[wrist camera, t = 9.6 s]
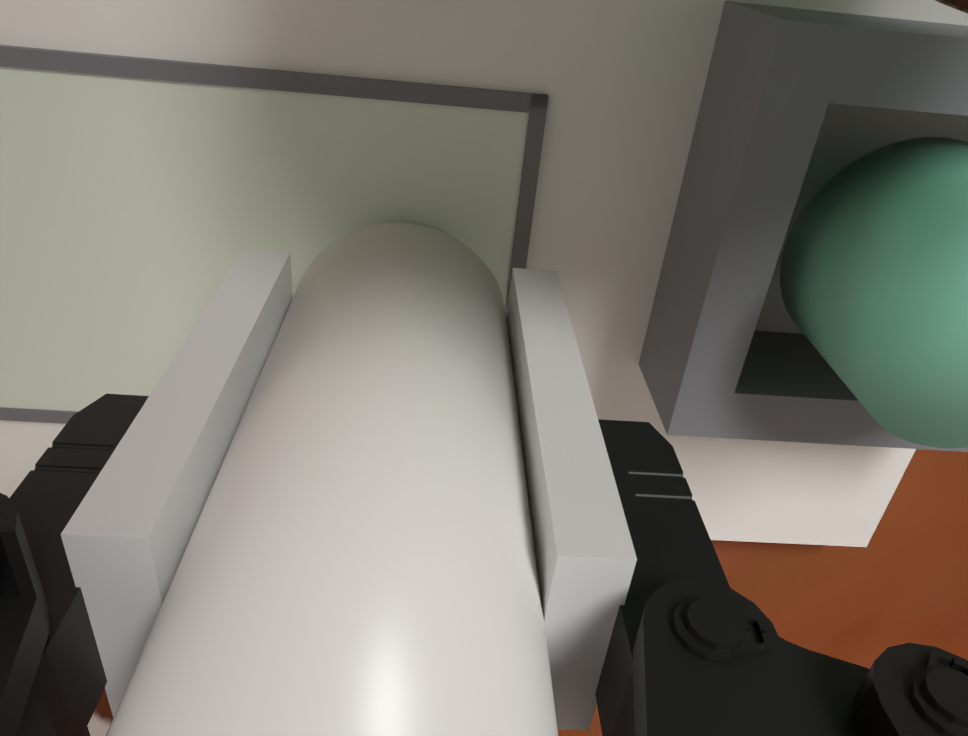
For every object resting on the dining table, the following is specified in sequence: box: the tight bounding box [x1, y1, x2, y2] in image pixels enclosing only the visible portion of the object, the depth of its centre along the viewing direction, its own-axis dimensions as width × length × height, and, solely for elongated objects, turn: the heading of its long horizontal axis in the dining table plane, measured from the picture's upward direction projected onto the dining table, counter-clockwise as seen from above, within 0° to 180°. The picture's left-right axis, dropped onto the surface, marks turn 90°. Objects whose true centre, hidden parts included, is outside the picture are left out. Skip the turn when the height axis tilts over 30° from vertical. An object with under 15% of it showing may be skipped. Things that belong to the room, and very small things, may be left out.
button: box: [780, 137, 968, 448], centre depth 11 cm, size 4×4×3 cm
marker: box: [106, 220, 558, 736], centre depth 9 cm, size 4×4×12 cm
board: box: [0, 0, 968, 547], centre depth 13 cm, size 17×24×4 cm
